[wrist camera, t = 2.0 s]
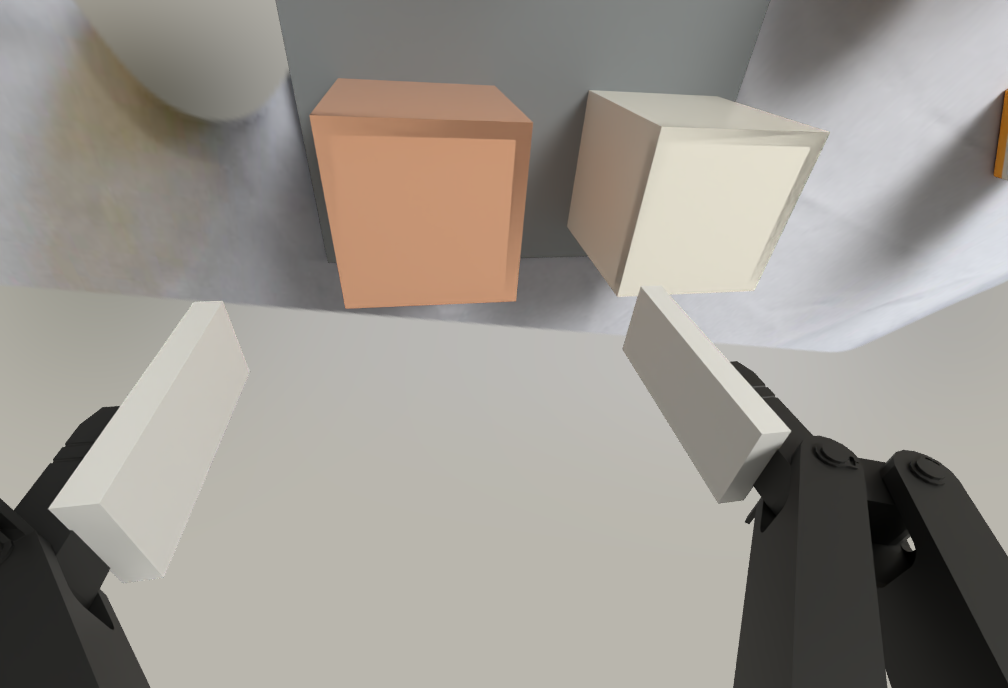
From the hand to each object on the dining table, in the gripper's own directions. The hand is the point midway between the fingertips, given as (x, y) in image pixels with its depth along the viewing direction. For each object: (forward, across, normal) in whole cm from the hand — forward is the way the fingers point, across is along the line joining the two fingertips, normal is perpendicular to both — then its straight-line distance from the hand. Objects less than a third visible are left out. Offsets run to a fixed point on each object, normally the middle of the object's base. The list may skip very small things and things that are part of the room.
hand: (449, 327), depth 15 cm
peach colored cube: (+18, 0, 0) cm, 18 cm away
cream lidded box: (+18, +15, 0) cm, 23 cm away
